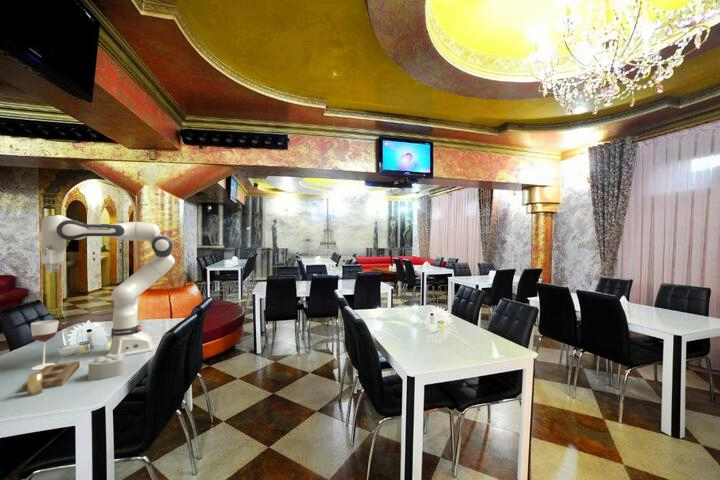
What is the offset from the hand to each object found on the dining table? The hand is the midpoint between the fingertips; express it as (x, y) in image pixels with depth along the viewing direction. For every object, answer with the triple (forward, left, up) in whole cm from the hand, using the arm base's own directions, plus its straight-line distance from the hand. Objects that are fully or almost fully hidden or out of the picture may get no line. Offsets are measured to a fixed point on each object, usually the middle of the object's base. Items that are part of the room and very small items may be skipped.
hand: (52, 272), depth 153 cm
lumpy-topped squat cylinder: (-29, +32, -47) cm, 64 cm away
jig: (-9, +26, -47) cm, 54 cm away
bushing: (-8, +41, -47) cm, 63 cm away
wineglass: (+1, +5, -47) cm, 47 cm away
